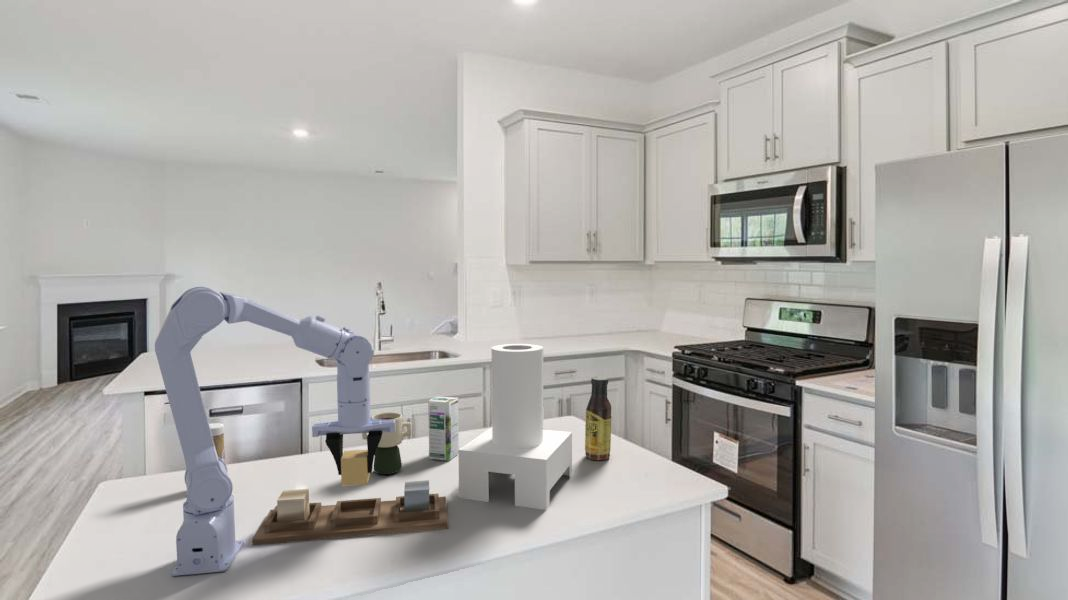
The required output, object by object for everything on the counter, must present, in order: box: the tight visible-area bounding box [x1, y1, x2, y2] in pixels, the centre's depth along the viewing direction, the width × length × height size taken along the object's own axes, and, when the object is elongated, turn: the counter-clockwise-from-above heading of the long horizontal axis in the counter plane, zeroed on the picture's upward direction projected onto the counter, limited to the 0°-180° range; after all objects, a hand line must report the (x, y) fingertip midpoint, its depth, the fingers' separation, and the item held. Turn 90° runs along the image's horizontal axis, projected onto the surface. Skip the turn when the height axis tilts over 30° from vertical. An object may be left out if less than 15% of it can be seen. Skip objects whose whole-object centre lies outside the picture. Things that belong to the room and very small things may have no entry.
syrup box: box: [427, 396, 460, 462], centre depth 143 cm, size 6×6×14 cm
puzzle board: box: [251, 479, 449, 546], centre depth 108 cm, size 12×33×6 cm, turn 101°
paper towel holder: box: [458, 343, 573, 511], centre depth 124 cm, size 19×19×30 cm
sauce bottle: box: [584, 375, 612, 462], centre depth 142 cm, size 7×6×20 cm
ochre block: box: [340, 449, 371, 487], centre depth 108 cm, size 4×4×5 cm
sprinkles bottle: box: [209, 422, 226, 464], centre depth 125 cm, size 5×5×13 cm
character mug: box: [361, 411, 412, 475], centre depth 133 cm, size 11×7×13 cm, turn 105°
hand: (355, 471), depth 108 cm, fingers closed on ochre block, 4 cm apart
